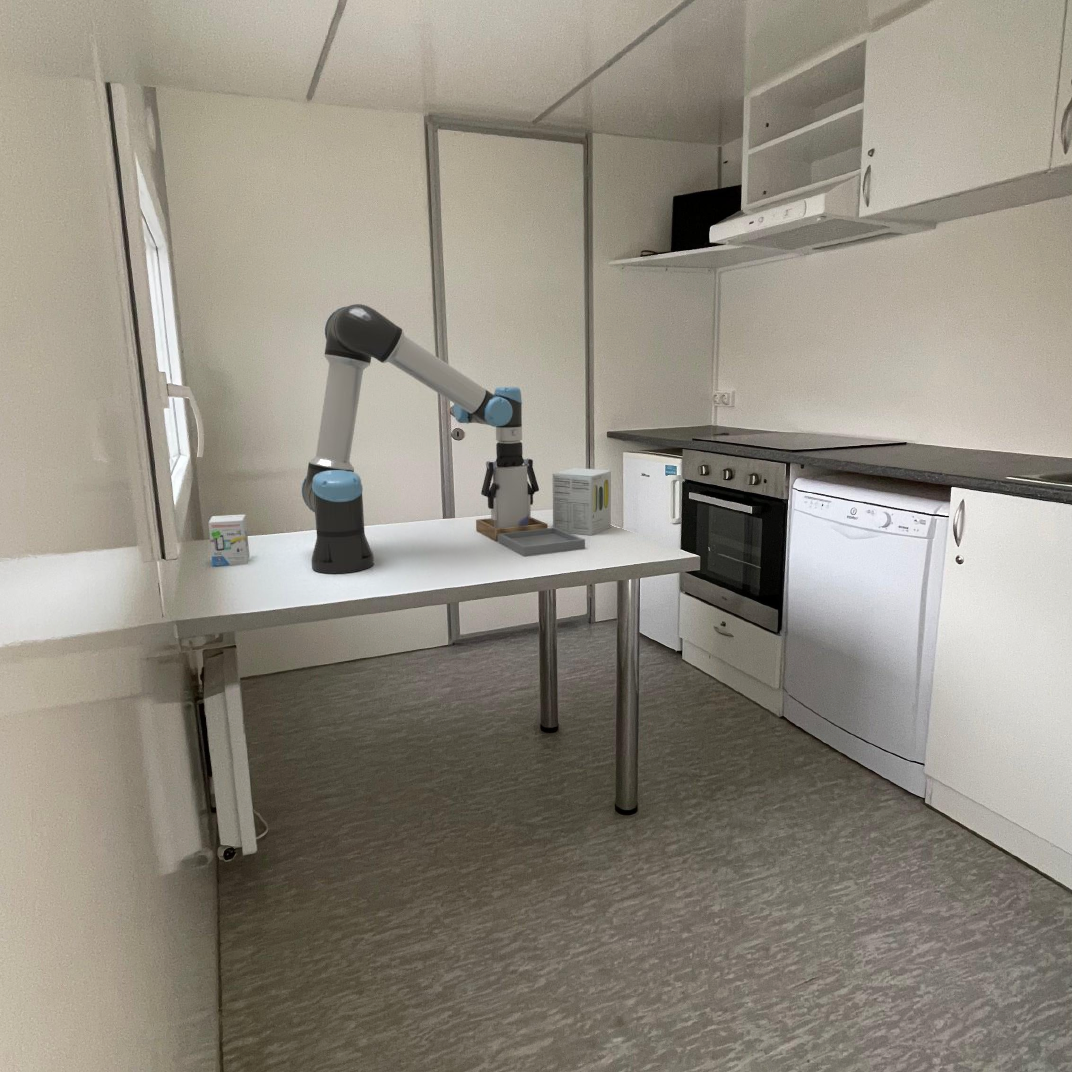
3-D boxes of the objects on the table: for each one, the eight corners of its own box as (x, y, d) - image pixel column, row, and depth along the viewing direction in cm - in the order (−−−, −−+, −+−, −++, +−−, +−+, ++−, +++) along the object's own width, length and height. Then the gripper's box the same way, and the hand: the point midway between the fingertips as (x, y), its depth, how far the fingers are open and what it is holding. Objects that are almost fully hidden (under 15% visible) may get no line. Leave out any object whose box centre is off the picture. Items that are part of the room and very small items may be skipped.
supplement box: (591, 536, 224) (591, 475, 221) (552, 531, 231) (551, 473, 227) (611, 527, 235) (612, 470, 232) (573, 523, 242) (573, 467, 238)
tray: (523, 556, 202) (523, 547, 201) (497, 542, 218) (497, 533, 217) (585, 548, 209) (584, 539, 209) (555, 535, 225) (555, 527, 225)
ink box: (211, 566, 197) (206, 521, 194) (216, 558, 205) (211, 515, 202) (247, 564, 199) (243, 519, 197) (250, 556, 207) (246, 513, 205)
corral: (496, 541, 219) (496, 529, 218) (476, 531, 233) (475, 519, 232) (547, 535, 225) (547, 523, 225) (525, 525, 239) (524, 514, 239)
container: (490, 531, 232) (488, 464, 228) (522, 528, 235) (521, 462, 231) (499, 538, 223) (497, 469, 219) (532, 535, 226) (531, 467, 221)
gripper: (477, 445, 215) (479, 523, 220) (550, 440, 224) (551, 516, 229) (467, 442, 222) (470, 519, 227) (539, 438, 231) (540, 511, 236)
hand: (511, 517), depth 228 cm, fingers closed on container, 10 cm apart
